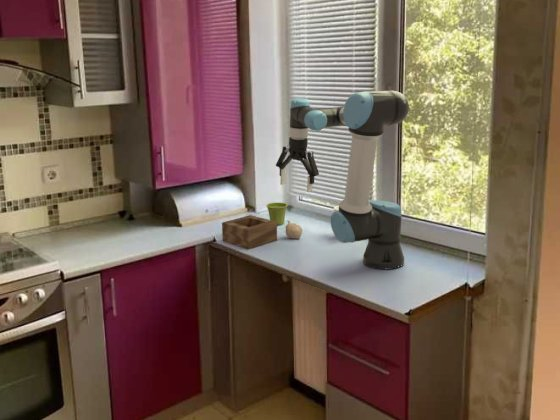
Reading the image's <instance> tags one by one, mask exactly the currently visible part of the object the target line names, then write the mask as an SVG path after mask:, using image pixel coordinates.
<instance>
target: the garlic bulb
mask: <svg viewBox="0 0 560 420" xmlns="http://www.w3.org/2000/svg"><path fill="white" fill-rule="evenodd" d="M302 234H303V228H302V227H301V225H299V224H297V223H293V222H290V220H287V224H286V225H285V236H287V237H288V238H289V239H300V238H301V236H302Z"/></svg>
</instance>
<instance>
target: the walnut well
mask: <svg viewBox="0 0 560 420" xmlns="http://www.w3.org/2000/svg"><path fill="white" fill-rule="evenodd" d="M221 230H222V231H221V232H222V233H221V235H222V236H221V237H222V242H224V243H228V244H231V245H233V246H237V247H240V248H243V249H246V250H252V249H255V248H258V247H261V246H264V245H268V244H271V243H275V242H278V225H277V222H275V221H271V220H270V219H267V218H263V217H261V216H260V217H259V216H255V215H252V214H249V215H245V216H241V217H237V218H235V219H230V220H226V221H223V222H221Z"/></svg>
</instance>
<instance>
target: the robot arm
mask: <svg viewBox="0 0 560 420" xmlns="http://www.w3.org/2000/svg"><path fill="white" fill-rule="evenodd" d="M289 109H290V110H289V133H288V136H289V138H288V145H285V146H282V150H281V153H280V155H279V158H278V159H277V161H276V163H275V167H277V168H278V169H279V176H280V185H281V186H282V185H284V184H287V168H286V167H287V166H288V164H289V163H290V162H291V161H292V160H294V161H299V162H300V163H302V165H303V167H304V168H305V170H306V172H307V174H308V175H307V180H306V181H307V185H306V192H307V193H310V192H311V191H313V185H314V184H315V178H316V176H319V175H320V173H319V172H320V171H319V169H318V166H317V163H316V161H315V157H314V151H307V149H308V141H309V139H308V137H309V130H312V131H315V132H317V131H318V132H319V131H321V130H323V129H325V128H334V127H335V128H336V127H347V128H348V130H347V131H348V132H349V134H351V143H350V144H351V145H350V151H349V159H348V165H347V166H348V167H347V176H346V183H345V184H346V185H345V191H344V198H343V200H341V201H340V202H339V204H338V206H339V211H335V212H334V211H333V213H332V214H331V216H330V227H331V230H332V233H333V235H334V236H335V238H336V239H337V240H338V241H339V242H340V243H343V244H348V243H349V244H350V243H355V242H362V241H365V240H366V241H367V240H368V241H367V245H366V247H365V251H364V253H363V257H362V263H363V264H364V265H365V266H366V267H369V268H372V267H373V268H372V269H377V268H380V269H379V270H386V269H385V268H395V267H398V266H401V265H403V264H404V265H405V256H404V252H403V248H402V246H401V231H402V218H403V216H402V207H401V206H400V204H398V203H396V202H391V201H387V200H378V199H377V200H375V199H374V200H371V201H370V195H371V188H372V182H373V175H374V168H375V166H374V165H375V161H376V154H377V145H378V139H379V138H381V137H382V136H383V135H384V128H385V127H388V126H394V125H398V124H400V123H402V122H403V121H404V120H406V118H407V116H408V115H409V111H410V104H409V101H408V99H407V97H406V95H405V94H403V93H401V92H399V91H397V90H388V89H387V90H375V91H374V90H373V91H370V90H369V91H366V90H364V91H363V90H362V91H360V92H354V93H352V94H351V95H350V96H349V97H348V98H347V99H346V101H345V102H344V105H343V106H338V107H337V106H335V107H319V108H313V107H311V104H310V100H309V99H307V98H300V97H299V98H297V97H296V98H293V99H291V100H290V108H289ZM288 153H289V154H288ZM287 154H288V156H287ZM285 158H286V159H285ZM404 265H403V266H404ZM381 268H382V269H381ZM395 269H396V268H395Z"/></svg>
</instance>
